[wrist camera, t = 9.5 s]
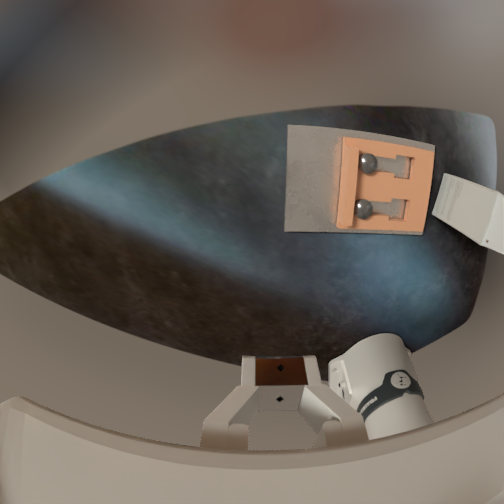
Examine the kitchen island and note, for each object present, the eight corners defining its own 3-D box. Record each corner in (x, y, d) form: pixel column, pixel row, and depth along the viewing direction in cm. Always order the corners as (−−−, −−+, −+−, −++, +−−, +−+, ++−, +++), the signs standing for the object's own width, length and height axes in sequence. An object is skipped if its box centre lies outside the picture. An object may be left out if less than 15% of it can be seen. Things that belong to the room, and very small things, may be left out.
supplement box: (458, 225, 37) (505, 257, 25) (430, 214, 36) (479, 246, 25) (471, 186, 34) (522, 209, 22) (443, 170, 33) (498, 191, 22)
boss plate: (419, 232, 38) (429, 240, 35) (283, 228, 38) (286, 237, 35) (431, 144, 32) (443, 147, 29) (286, 124, 32) (290, 124, 29)
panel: (419, 229, 36) (429, 236, 33) (336, 226, 36) (342, 233, 34) (430, 151, 31) (441, 153, 28) (343, 136, 31) (350, 137, 29)
